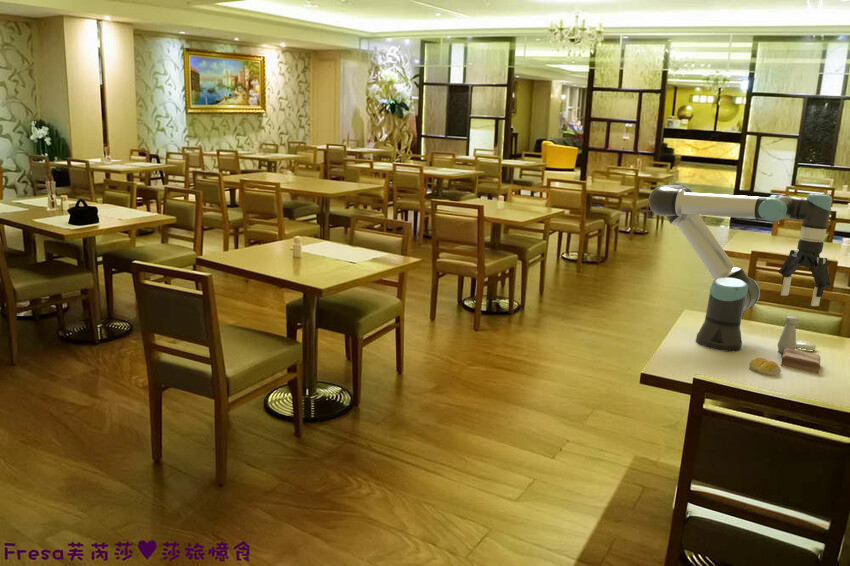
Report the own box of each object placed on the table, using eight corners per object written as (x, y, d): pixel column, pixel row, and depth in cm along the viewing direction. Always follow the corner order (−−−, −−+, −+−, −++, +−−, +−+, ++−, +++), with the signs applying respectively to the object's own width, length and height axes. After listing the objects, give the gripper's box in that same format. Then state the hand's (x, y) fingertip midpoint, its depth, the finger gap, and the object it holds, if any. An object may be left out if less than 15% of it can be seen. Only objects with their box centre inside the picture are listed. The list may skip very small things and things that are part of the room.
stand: (818, 373, 227) (820, 363, 226) (780, 365, 232) (783, 355, 231) (818, 364, 236) (820, 354, 236) (782, 356, 241) (784, 347, 241)
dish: (803, 352, 250) (804, 346, 249) (788, 345, 256) (789, 340, 256) (819, 351, 252) (820, 346, 251) (804, 345, 258) (805, 340, 258)
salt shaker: (795, 352, 248) (802, 317, 245) (793, 356, 243) (801, 320, 240) (777, 348, 251) (784, 313, 248) (775, 352, 246) (782, 316, 243)
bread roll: (758, 365, 231) (761, 353, 230) (783, 375, 224) (786, 363, 223) (742, 367, 227) (745, 356, 226) (767, 377, 220) (770, 366, 219)
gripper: (851, 247, 227) (837, 310, 232) (792, 233, 250) (780, 291, 255) (832, 246, 225) (819, 310, 230) (775, 233, 248) (764, 291, 253)
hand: (799, 300), depth 242 cm, fingers open, 13 cm apart
